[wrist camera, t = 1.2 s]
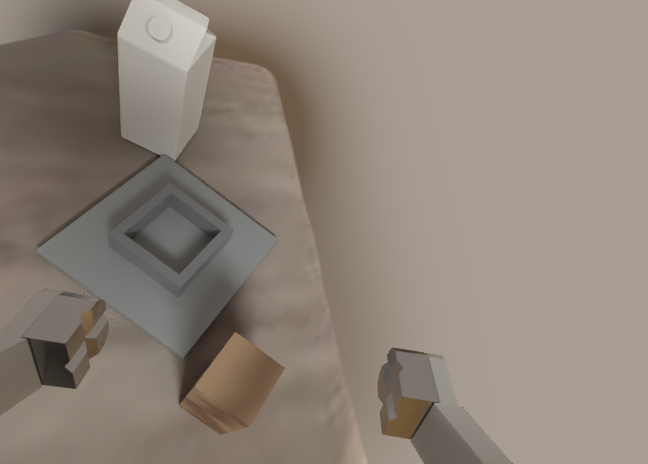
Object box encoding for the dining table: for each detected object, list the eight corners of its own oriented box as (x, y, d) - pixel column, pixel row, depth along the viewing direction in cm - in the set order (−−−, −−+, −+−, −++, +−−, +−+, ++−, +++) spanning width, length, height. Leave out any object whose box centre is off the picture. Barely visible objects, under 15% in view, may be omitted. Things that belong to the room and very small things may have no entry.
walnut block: (178, 405, 38) (194, 386, 29) (211, 361, 41) (235, 331, 32) (220, 435, 38) (249, 426, 29) (249, 389, 41) (284, 368, 32)
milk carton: (149, 104, 53) (155, -37, 38) (198, 129, 55) (223, 2, 40) (120, 137, 49) (115, -6, 34) (174, 163, 51) (192, 36, 35)
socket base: (37, 254, 39) (28, 236, 36) (163, 158, 50) (165, 138, 47) (182, 359, 40) (186, 350, 37) (276, 242, 51) (285, 228, 48)
